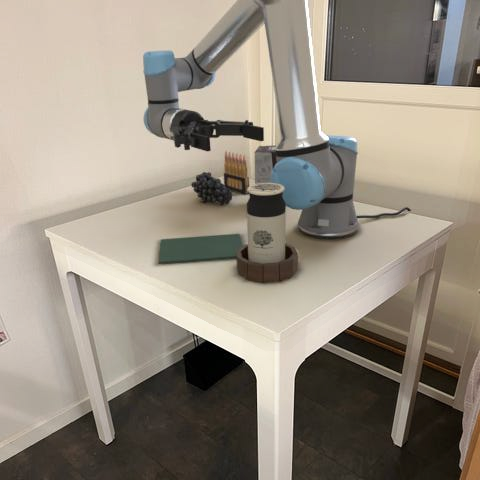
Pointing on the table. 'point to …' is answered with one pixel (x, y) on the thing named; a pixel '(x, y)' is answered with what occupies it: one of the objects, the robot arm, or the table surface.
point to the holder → (267, 266)
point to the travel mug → (266, 223)
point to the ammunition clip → (236, 173)
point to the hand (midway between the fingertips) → (236, 139)
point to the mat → (199, 248)
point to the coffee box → (264, 163)
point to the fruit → (211, 189)
